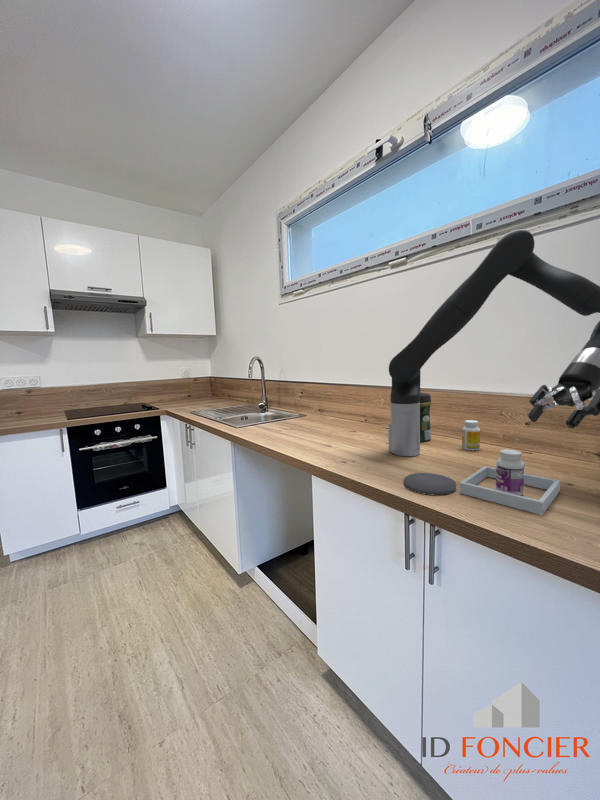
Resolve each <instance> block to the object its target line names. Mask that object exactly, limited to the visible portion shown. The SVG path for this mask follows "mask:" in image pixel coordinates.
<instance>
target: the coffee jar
mask: <svg viewBox="0 0 600 800" xmlns="http://www.w3.org/2000/svg"><path fill="white" fill-rule="evenodd" d="M431 405H432V397H431V394H429V393H426V392H420V442H424V443H425V442H428V441H430V440H431V439H432V433H431V432H432V430H431V418H430V417H431V416H430V413H431V412H430V411H431Z"/></svg>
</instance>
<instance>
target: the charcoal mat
mask: <svg viewBox="0 0 600 800" xmlns="http://www.w3.org/2000/svg"><path fill="white" fill-rule="evenodd" d="M403 485H404V487H405V488H406V489H408V488H409V489H408V490H410V489H411V490H410V491H412V490H413V492H414V491H416V492H415V493H417V492H420V493H419V494H421V493H425V494H424V495H427V494H434V495H433V496H442V495H441V494H446V495H450V494H453V493H454V492H456V490H457V483H456V481H455V480H454V479H453V478H451V477H449V476H446V475H443V474H438V473H431V472H430V473H429V472H417V473H411V474H408V475H406V476H404V478H403Z"/></svg>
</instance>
